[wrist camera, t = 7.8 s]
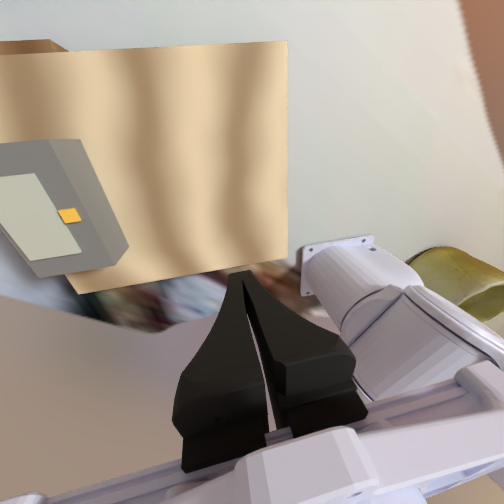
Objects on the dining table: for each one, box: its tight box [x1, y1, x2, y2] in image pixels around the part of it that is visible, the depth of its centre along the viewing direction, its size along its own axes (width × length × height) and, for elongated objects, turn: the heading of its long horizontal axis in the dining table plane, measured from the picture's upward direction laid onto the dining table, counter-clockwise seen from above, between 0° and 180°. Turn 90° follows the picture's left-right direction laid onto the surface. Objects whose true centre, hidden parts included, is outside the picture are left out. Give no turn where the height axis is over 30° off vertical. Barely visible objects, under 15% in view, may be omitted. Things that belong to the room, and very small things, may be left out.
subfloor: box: [0, 39, 288, 294], centre depth 17 cm, size 20×18×4 cm
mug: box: [408, 247, 504, 324], centre depth 27 cm, size 12×10×10 cm
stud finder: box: [0, 139, 129, 278], centre depth 13 cm, size 5×8×3 cm, turn 5°
